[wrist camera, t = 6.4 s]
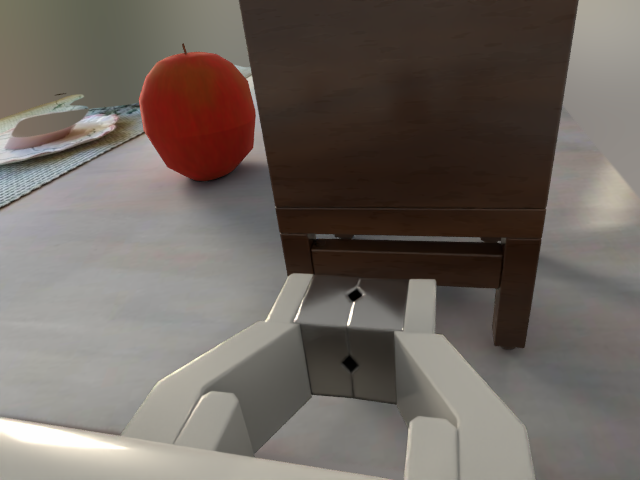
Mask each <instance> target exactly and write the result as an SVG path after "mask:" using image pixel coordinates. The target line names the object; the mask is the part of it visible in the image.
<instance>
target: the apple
mask: <svg viewBox="0 0 640 480" xmlns="http://www.w3.org/2000/svg"><path fill="white" fill-rule="evenodd" d="M182 46H183V49H184V52H185V53H182V54H177V55H173V56H170V57H167V58H165V59H163V60H161V61H159V62H157V63H156V64H155V66H154V67H153V68H152V70H151V71H150V72H149V74H148V75H147V77H146V78H145V81H144V84H143V87H142V91H141V94H140V97H139V104H140V110H141V116H142V122H143V129H144V132H145V133H146V135H147V136H148V138H149V140H150V141H151V143H152V144H153V146H154V147H155V149H156V150H157V152H158V153H159V155H160V156H161V158H162V159H163V161H164V162H165V164H166V165H167V167H168V168H170V169H172V170H174V171H176V172H178V173H180V174H182V175H184V176H186V177H188V178H190V179H193V180H195V181H208V180H213V179H217V178H219V177H222V176H224V175H226V174H228V173H230V172H232V171H233V170H234V169H235V168H236V167H237V166H238V165H239V164H240V162H241V161H242V160H243V159H244V158H245V157H246V155H247V154H248V153H249V152H250V151H251V150H252V148H253V143H254V128H255V116H256V115H255V108H254V104H253V100H252V96H251V92H250V88H249V84H248V81H247V80H246V78H245V77H244V76H243V75H242V74H241V73H240V72H239V70H238V69H237V68H236V67H235V66H234V65H233V64H232V63H231V62H229V61H227V60H226V59H224V58H222V57H220V56H219V55H217V54H212V53H205V52H191V53H186V49H185V46H184V44H182Z"/></svg>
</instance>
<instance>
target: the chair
mask: <svg viewBox="0 0 640 480" xmlns="http://www.w3.org/2000/svg"><path fill="white" fill-rule="evenodd" d="M578 1H579V0H239V4H240V10H241V16H242V21H243V27H244V32H245V38H246V44H247V49H248V54H249V61H250V66H251V72H252V78H253V83H254V89H255V94H256V100H257V106H258V111H259V117H260V123H261V128H262V134H263V140H264V145H265V151H266V156H267V162H268V168H269V173H270V179H271V185H272V190H273V196H274V202H275V206H276V208H275V209H276V214H277V220H278V225H279V231H280V236H281V241H282V247H283V253H284V258H285V264H286V270H287V275H288V276H289V275H291V274H293V273H300V274H314V275H315V274H319V275H334V276H349V277H361V278H380V279H409V280H410V279H435V280H436V286H452V287H473V288H494V289H496V294H495V304H494V313H493V323H492V331H493V339H494V345H495V346H500V347H502V348H504V349H507V350H511V349H514V348H516V347H517V348H524V347H525V342H526V336H527V330H528V323H529V317H530V310H531V304H532V298H533V291H534V285H535V278H536V272H537V265H538V259H539V253H540V246H541V238H542V233H543V227H544V220H545V214H546V206H547V200H548V194H549V187H550V181H551V174H552V168H553V161H554V155H555V149H556V142H557V136H558V129H559V123H560V116H561V110H562V104H563V97H564V90H565V84H566V78H567V71H568V65H569V59H570V52H571V46H572V39H573V33H574V26H575V20H576V14H577V6H578ZM315 234H335V237H339V238H340V239H316V235H315ZM354 235H396V236H445V237H480V238H481V240H482V241H484V242H444V241H401V240H358V239H351V238H353V236H354ZM498 241H501V244H500V243H497V242H498Z"/></svg>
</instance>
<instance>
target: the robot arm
mask: <svg viewBox="0 0 640 480" xmlns="http://www.w3.org/2000/svg"><path fill="white" fill-rule="evenodd" d="M435 317H436V280H435V279H410V280H409V279H380V278H361V277H349V276H334V275H319V274H315V275H314V274H300V273H293V274H291V275H289V276H288V278H287V280H286V282H285V284H284V286H283V288H282V290H281V292H280V294H279V296H278V298H277V300H276V301H275V303H274V305H273V307H272V309H271V311H270V313H269V315H268V317H267V319H266V321H257V322H256V323H254V324H253V325H251V326H249V327H248V328H246V329H244V330H243V331H241V332H239V333H238V334H236V335H234V336H233V337H231V338H229V339H228V340H226V341H224V342H223V343H221V344H220V345H218V346H216V347H215V348H213V349H211V350H210V351H208V352H206V353H205V354H203V355H201V356H200V357H198V358H196V359H195V360H193V361H191V362H190V363H188V364H187V365H185V366H183V367H182V368H180V369H178V370H177V371H175V372H173V373H172V374H170V375H168V376H167V377H165V378H163V379H162V380H160V381H158V382H157V384H156V385H155V386H154V388H153V389H152V391H151V392H150V394H149V395H148V396H147V398H146V399H145V401H144V402H143V404H142V405H141V406H140V408H139V409H138V411H137V412H136V414H135V415H134V416H133V418H132V419H131V421H130V422H129V424H128V425H127V426H126V428H125V429H124V431H123V432H122V434H121V435H120V436H117V435H110V434H104V433H98V432H92V431H85V430H79V429H73V428H66V427H60V426H54V425H48V424H41V423H35V422H29V421H22V420H16V419H10V418H4V417H0V480H393V479H386V478H380V477H374V476H368V475H361V474H355V473H348V472H343V471H336V470H330V469H323V468H317V467H311V466H305V465H298V464H292V463H286V462H280V461H273V460H267V459H261V458H255V456H254V454H255V453H256V452H257V451H258V450H259V449H260V448H261V447H262V446H263V445H264V444H265V443H266V442H267V441H268V440H269V439H270V438H271V437H272V436H273V435H274V434H275V433H276V432H277V431H278V430H279V429H280V428H281V427H282V426H283V425H284V424H285V423H286V422H287V421H288V420H289V419H290V418H291V417H292V416H293V415H294V414H295V413H296V412H297V411H298V410H299V409H300V408H301V407H302V406H303V405H304V404H305V403H306V402H307V401H308V400H309V399H310V398H311V397H312V396H311V395H322V396H334V397H345V398H355V399H362V400H369V401H376V402H383V403H390V404H397V408H398V410H399V411H400V413H401V415H402V417H403V419H404V421H405V423H406V425H407V427H408V429H409V431H408V442H407V452H406V462H405V472H404V480H536V479H535V473H534V468H533V462H532V457H531V451H530V445H529V440H528V434H527V428H526V426H525V425H524V424H523V423H522V422H521V421H520V420H519V419H518V418H517V416H516V415H515V414H514V413H513V412H512V411H511V410H510V409H509V408H508V406H507V405H506V404H505V403H504V402H503V401H502V400H501V399H500V398H499V396H498V395H497V394H496V393H495V392H494V391H493V390H492V389H491V388H490V386H489V385H488V384H487V383H486V382H485V381H484V380H483V379H482V378H481V376H480V375H479V374H478V373H477V372H476V371H475V370H474V369H473V368H472V366H471V365H470V364H469V363H468V362H467V361H466V360H465V359H464V358H463V356H462V355H461V354H460V353H459V352H458V351H457V350H456V349H455V348H454V346H453V345H452V344H451V343H450V342H449V341H448V340H447V339H446V338H445V336H444V335H442V334H435Z"/></svg>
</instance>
